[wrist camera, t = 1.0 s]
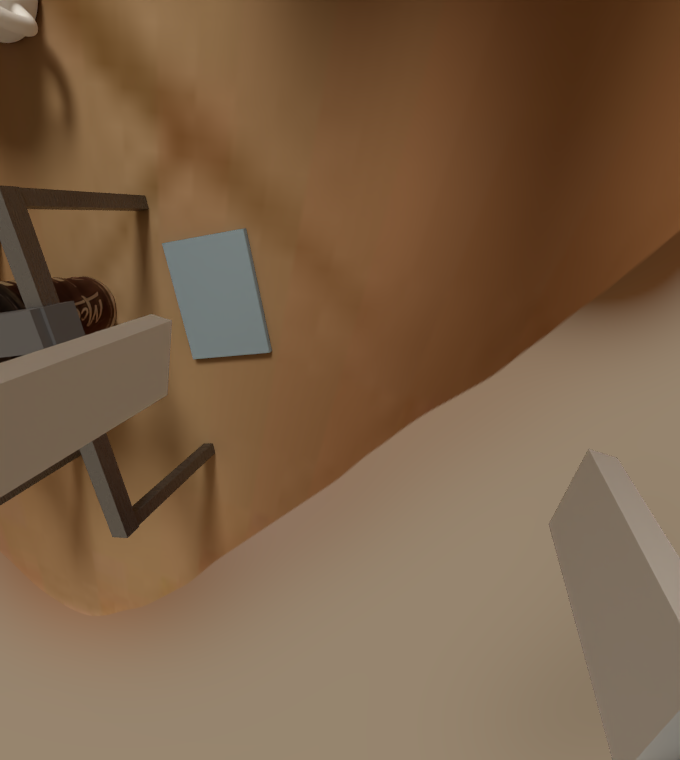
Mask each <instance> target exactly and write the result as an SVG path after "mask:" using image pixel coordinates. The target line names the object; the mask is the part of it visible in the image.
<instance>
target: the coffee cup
mask: <svg viewBox="0 0 680 760" xmlns="http://www.w3.org/2000/svg"><path fill="white" fill-rule="evenodd" d="M52 281H53V284H54V287H55V290H56V292H57V295H58V298H59V301H60V303H63V302H69V301H74V303H75V306H76V309H77V312H78V315H79V318H80V321H81V324H82V327H83V330H84V333H85V335H88V334H91V333H94V332H97V331H101V330H104V329H107V328H110V327H112V326H113V325H114V323H115V320H116V305H115V300H114V297H113V295H112V293H111V292H110V290H109V289H108V288H107V287H106V286H105V285H104V284H102V283H100V282H99V281H97V280H95V279H92V278H89V277H71V278H67V279H63V278H52ZM23 309H26V307H25V304H24V302H23V299H22V297H21V294H20V291H19V289H18V286H17V283H16V281H15V280H12V281H7V282H5V281H0V313H2V312H9V311H16V310H23ZM20 356H24V355H20ZM20 356H11V357H1V358H0V362H4V361H7V360H10V359H14V358H17V357H20Z"/></svg>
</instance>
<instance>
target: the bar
mask: <svg viewBox="0 0 680 760" xmlns="http://www.w3.org/2000/svg"><path fill="white" fill-rule="evenodd" d="M82 336H85V333H84V330H83V327H82V324H81V321H80V318H79V315H78V312H77V309H76V306H75V303H74V301H69V302H63V303H58V304H53V305H49V306H44V307H37V308H30V309H23V310H16V311H9V312H2V313H0V358H1V357H11V356H20V355H27V354H30V353H33V352H36V351H39V350H42V349H45V348H48V347H51V346H54V345H57V344H60V343H64V342H67V341H70V340H73V339H76V338H79V337H82Z"/></svg>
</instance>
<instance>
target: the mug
mask: <svg viewBox="0 0 680 760" xmlns="http://www.w3.org/2000/svg"><path fill="white" fill-rule="evenodd" d="M37 9H38V0H0V42H2V43H12V42H16V41H19V40H21V39H22V38H24V37H25V36H27V37H33V36H35V35H36V34H37V32H38V26H37V23H36V21H35V19H36V15H37Z"/></svg>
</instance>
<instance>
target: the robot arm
mask: <svg viewBox="0 0 680 760" xmlns="http://www.w3.org/2000/svg"><path fill="white" fill-rule="evenodd" d="M171 326H172V320H169V319H166V318H162V317H159V316H156V315H153V314H150V315H147V316H144V317H141V318H137V319H134V320H131V321H128V322H125V323H122V324H119V325H116V326H113V327H110V328H107V329H104V330H101V331H97V332H94V333H91V334H88V335H85V336H82V337H79V338H76V339H73V340H70V341H67V342H64V343H60V344H57V345H54V346H51V347H48V348H45V349H42V350H39V351H36V352H33V353H30V354H27V355H24V356H20V357H17V358H14V359H10V360H7V361H4V362H0V497H2V496H4V495H5V494H7V493H8V492H10V491H12V490H13V489H15V488H17V487H18V486H20V485H21V484H23V483H25V482H26V481H28V480H30V479H31V478H33V477H35V476H36V475H38V474H39V473H41V472H43V471H44V470H46V469H48V468H49V467H51V466H52V465H54V464H56V463H57V462H59V461H61V460H62V459H64V458H65V457H67V456H69V455H70V454H72V453H74V452H75V451H77V450H78V449H80V448H82V447H83V446H85V445H87V444H88V443H90V442H91V441H93V440H95V439H96V438H98V437H100V436H101V435H103V434H105V433H106V432H108V431H109V430H111V429H113V428H114V427H116V426H118V425H119V424H121V423H122V422H124V421H126V420H127V419H129V418H131V417H132V416H134V415H135V414H137V413H139V412H140V411H142V410H144V409H145V408H147V407H148V406H150V405H152V404H153V403H155V402H157V401H158V400H160V399H161V398H163V397H165V396H166V395H167V392H168V375H169V359H170V342H171ZM549 527H550V531H551V534H552V538H553V541H554V545H555V549H556V552H557V556H558V560H559V564H560V567H561V571H562V575H563V578H564V582H565V586H566V590H567V593H568V597H569V601H570V605H571V608H572V612H573V616H574V619H575V623H576V627H577V630H578V634H579V638H580V641H581V645H582V649H583V653H584V656H585V660H586V664H587V668H588V671H589V675H590V678H591V682H592V686H593V690H594V693H595V697H596V701H597V704H598V708H599V712H600V715H601V719H602V723H603V726H604V730H605V734H606V738H607V742H608V745H609V749H610V753H611V756H612V760H680V558H679V556H678V554H677V553H676V551H675V550H674V548H673V546H672V545H671V543H670V542H669V540H668V538H667V537H666V535H665V533H664V532H663V530H662V529H661V527H660V526H659V524H658V522H657V521H656V519H655V517H654V516H653V514H652V513H651V511H650V509H649V508H648V506H647V505H646V503H645V501H644V500H643V498H642V497H641V495H640V493H639V492H638V490H637V489H636V487H635V485H634V484H633V482H632V480H631V479H630V477H629V476H628V474H627V472H626V471H625V470H624V468H623V466H622V465H621V463H620V461H619V460H618V458H617V457H613V456H610V455H607V454H604V453H601V452H597V451H594V450H591V449H588V451H587V453H586V455H585V457H584V459H583V460H582V462H581V464H580V466H579V468H578V470H577V472H576V474H575V476H574V477H573V479H572V481H571V483H570V485H569V487H568V489H567V491H566V492H565V494H564V496H563V498H562V500H561V502H560V504H559V506H558V508H557V509H556V511H555V513H554V515H553V517H552V519H551V521H550V523H549Z"/></svg>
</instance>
